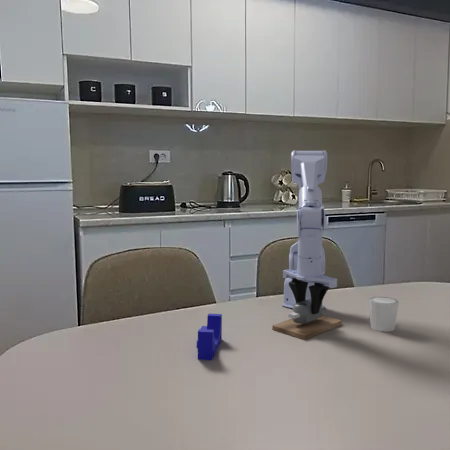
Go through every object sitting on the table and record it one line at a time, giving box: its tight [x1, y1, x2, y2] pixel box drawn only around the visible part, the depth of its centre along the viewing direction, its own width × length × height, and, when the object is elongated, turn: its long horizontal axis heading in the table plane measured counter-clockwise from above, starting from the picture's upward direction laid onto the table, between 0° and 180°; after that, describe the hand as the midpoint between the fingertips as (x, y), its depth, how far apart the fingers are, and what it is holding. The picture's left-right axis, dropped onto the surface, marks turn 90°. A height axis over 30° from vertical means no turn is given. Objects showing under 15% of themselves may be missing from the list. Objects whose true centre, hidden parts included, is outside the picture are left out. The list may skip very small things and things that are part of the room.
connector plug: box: [288, 299, 323, 324], centre depth 112 cm, size 4×11×4 cm, turn 134°
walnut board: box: [271, 314, 343, 341], centre depth 113 cm, size 10×16×1 cm, turn 134°
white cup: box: [368, 296, 399, 333], centre depth 113 cm, size 7×7×7 cm
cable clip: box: [196, 312, 223, 361], centre depth 99 cm, size 12×4×6 cm, turn 171°
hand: (308, 311), depth 113 cm, fingers open, 4 cm apart
